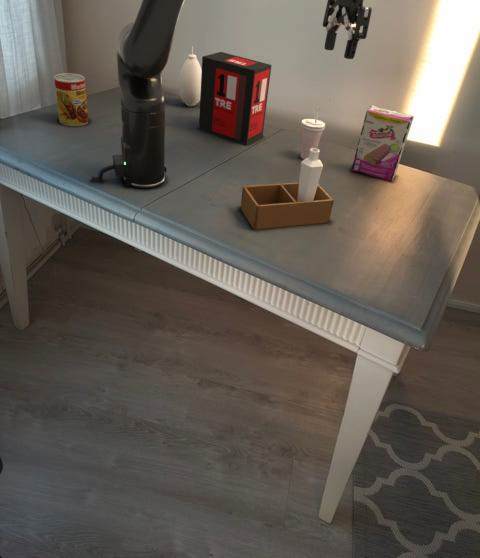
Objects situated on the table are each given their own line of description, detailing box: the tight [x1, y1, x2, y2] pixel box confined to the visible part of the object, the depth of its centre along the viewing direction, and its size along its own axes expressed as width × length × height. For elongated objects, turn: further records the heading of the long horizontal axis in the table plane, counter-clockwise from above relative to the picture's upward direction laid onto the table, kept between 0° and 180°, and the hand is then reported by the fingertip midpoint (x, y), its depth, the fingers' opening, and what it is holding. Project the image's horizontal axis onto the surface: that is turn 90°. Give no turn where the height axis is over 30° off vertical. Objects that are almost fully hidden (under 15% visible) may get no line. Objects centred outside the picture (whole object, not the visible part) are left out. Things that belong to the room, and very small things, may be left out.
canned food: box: [53, 72, 89, 127], centre depth 139 cm, size 8×8×12 cm
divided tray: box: [239, 182, 335, 230], centre depth 109 cm, size 18×9×6 cm, turn 109°
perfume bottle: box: [297, 148, 324, 202], centre depth 108 cm, size 5×4×15 cm
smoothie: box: [299, 105, 326, 160], centre depth 134 cm, size 6×6×14 cm
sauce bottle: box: [178, 45, 202, 107], centre depth 158 cm, size 8×8×18 cm
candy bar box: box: [351, 105, 414, 182], centre depth 129 cm, size 11×5×16 cm, turn 65°
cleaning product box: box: [198, 51, 272, 146], centre depth 141 cm, size 16×9×20 cm, turn 58°
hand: (338, 54), depth 114 cm, fingers open, 8 cm apart
